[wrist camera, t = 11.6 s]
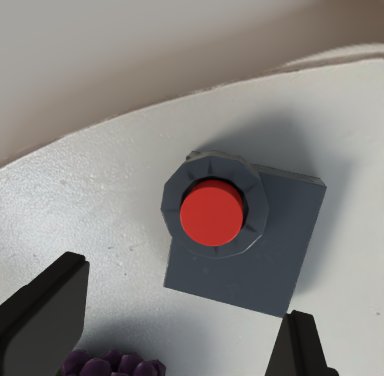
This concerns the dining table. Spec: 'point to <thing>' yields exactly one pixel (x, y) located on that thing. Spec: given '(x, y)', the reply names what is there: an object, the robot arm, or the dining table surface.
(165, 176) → the dining table surface
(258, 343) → the dining table surface
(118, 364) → the fruit
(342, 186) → the dining table surface
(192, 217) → the plunger
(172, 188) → the button box
